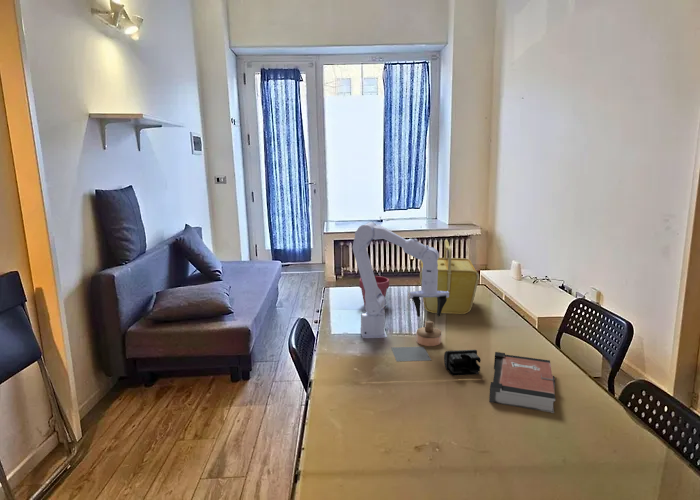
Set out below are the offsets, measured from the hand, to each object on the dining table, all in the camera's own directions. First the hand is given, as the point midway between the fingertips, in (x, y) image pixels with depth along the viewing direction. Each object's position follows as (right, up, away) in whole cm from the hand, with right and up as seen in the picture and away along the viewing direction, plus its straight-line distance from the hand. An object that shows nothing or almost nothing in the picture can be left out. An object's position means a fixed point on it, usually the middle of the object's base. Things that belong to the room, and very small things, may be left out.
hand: (428, 315), depth 172 cm
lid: (0, -7, -1) cm, 7 cm away
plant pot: (-18, -2, +46) cm, 50 cm away
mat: (-8, -12, -11) cm, 18 cm away
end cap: (+7, -15, -24) cm, 29 cm away
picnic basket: (+16, -2, +46) cm, 48 cm away
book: (+22, -17, -34) cm, 44 cm away
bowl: (0, -10, 0) cm, 10 cm away
